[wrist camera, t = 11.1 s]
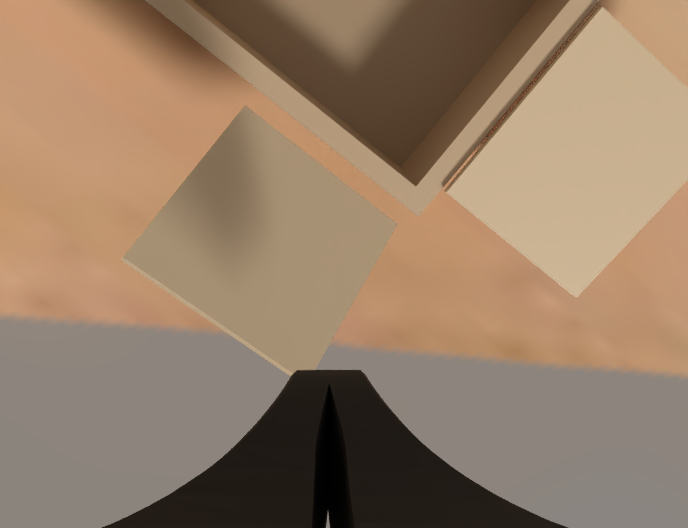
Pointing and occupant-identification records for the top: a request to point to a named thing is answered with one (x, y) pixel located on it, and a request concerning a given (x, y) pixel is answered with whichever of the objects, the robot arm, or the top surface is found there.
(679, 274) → the top surface
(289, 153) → the side flap
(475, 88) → the carton
